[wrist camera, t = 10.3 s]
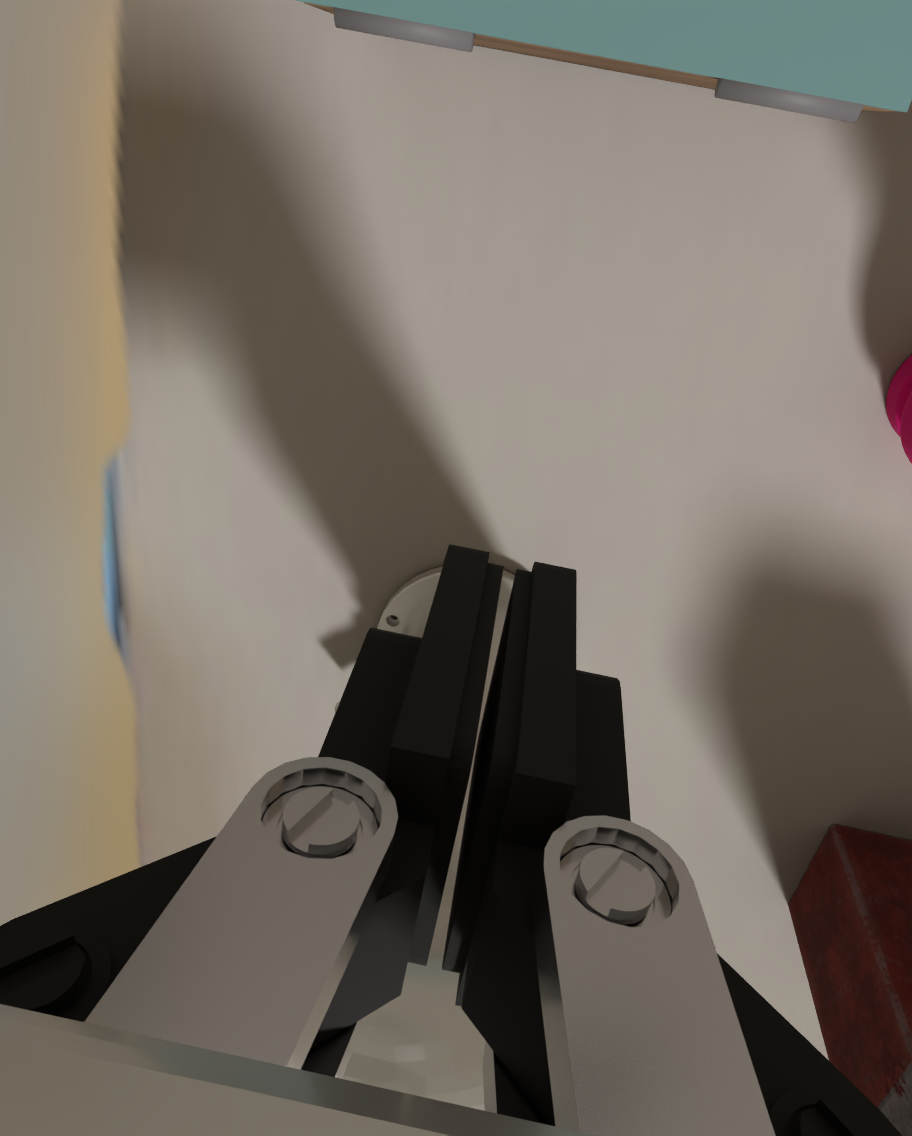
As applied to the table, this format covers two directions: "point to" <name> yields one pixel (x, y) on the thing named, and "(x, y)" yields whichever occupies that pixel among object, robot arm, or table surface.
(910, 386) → the pepper mill
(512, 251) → the table surface
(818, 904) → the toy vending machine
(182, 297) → the table surface
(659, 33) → the lid
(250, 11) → the table surface
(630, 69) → the box
